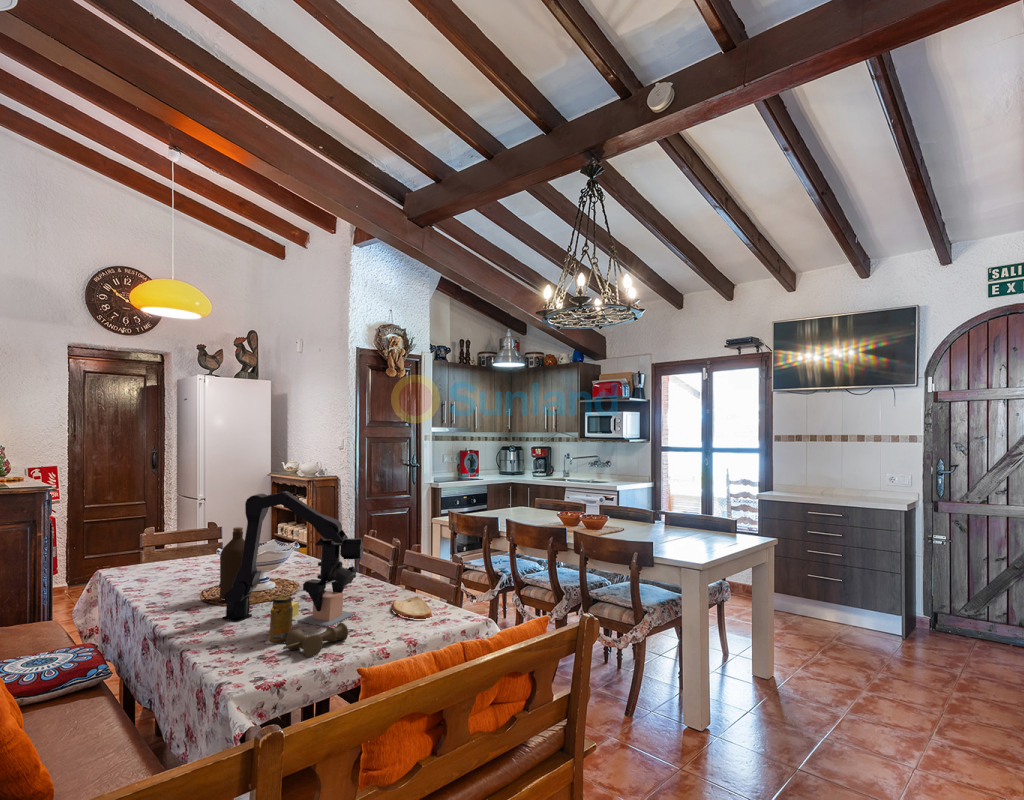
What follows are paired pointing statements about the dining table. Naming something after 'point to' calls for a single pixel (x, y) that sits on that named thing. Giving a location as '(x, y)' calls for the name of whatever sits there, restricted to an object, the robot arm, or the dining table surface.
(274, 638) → the condiment
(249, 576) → the robot arm
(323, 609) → the salmon cube
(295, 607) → the yellow block
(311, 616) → the grey panel
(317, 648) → the kendama
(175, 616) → the dining table surface
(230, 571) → the olive oil
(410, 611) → the slice of bread
